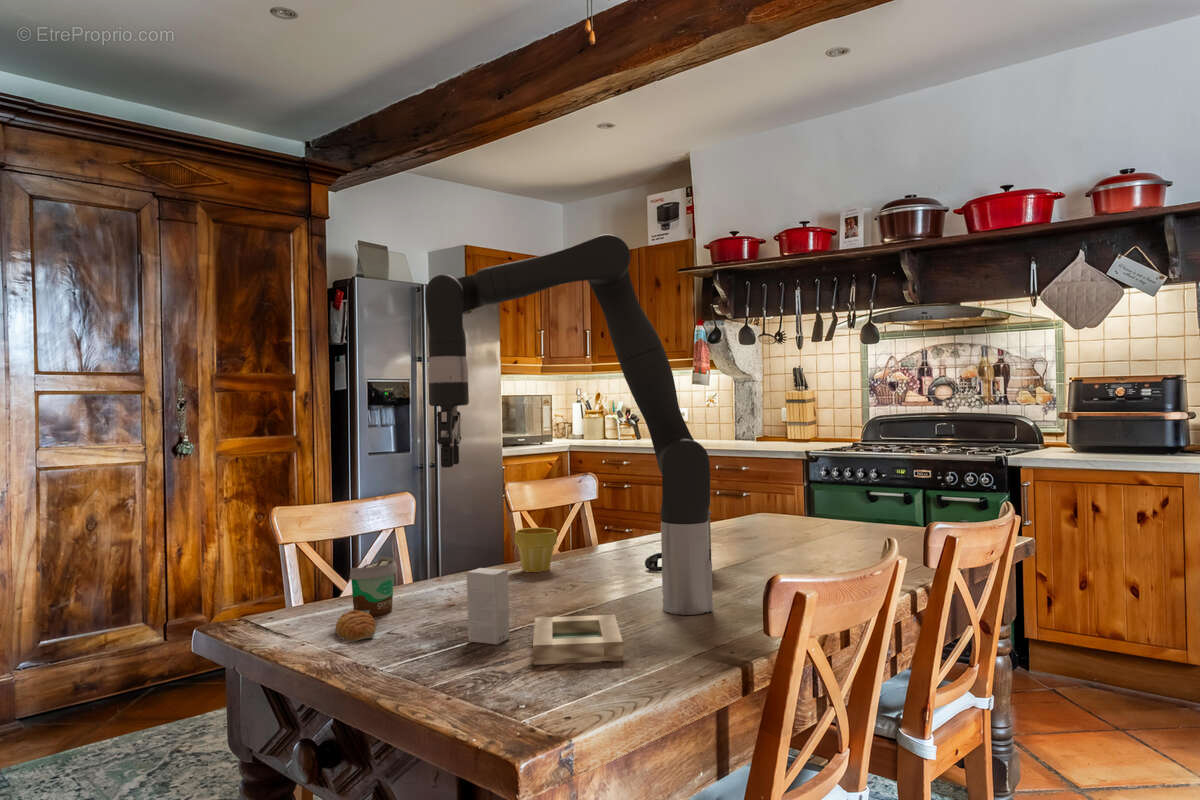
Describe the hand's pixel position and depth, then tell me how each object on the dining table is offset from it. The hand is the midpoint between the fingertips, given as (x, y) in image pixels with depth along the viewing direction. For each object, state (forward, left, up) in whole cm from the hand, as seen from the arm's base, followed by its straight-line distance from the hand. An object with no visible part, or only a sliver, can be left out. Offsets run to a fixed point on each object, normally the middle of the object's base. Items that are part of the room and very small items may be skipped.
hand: (450, 465), depth 149 cm
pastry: (+16, +8, -30) cm, 35 cm away
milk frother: (-49, -34, -30) cm, 67 cm away
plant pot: (-15, -42, -29) cm, 54 cm away
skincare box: (-8, +15, -29) cm, 34 cm away
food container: (+15, -6, -29) cm, 34 cm away
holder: (-23, +21, -29) cm, 42 cm away
